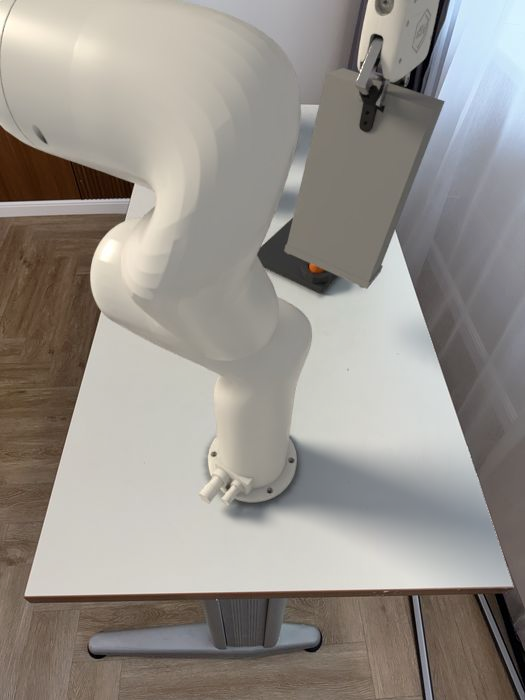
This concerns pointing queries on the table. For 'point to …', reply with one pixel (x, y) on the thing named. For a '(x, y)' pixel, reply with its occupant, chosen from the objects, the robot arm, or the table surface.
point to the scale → (291, 263)
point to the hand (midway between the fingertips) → (377, 124)
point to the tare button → (315, 269)
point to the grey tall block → (358, 177)
